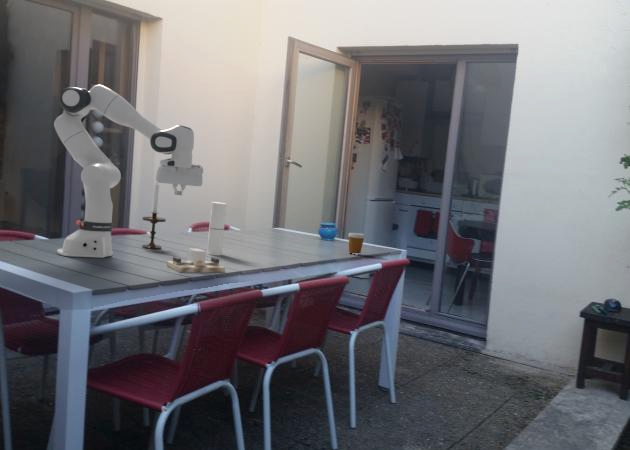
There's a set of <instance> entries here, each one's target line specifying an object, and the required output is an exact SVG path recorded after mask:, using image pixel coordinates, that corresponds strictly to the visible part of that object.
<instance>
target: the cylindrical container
mask: <svg viewBox="0 0 630 450" xmlns="http://www.w3.org/2000/svg"><path fill="white" fill-rule="evenodd" d="M226 213H227V203H226V202H221V201H220V202H219V201H211V204H210V215H209V227H208V236H207V237H208V238H207V246H206V247H207V249H206V254H207V255H209V254H210V256H222V254H223V243H224V233H225V222H226Z"/></svg>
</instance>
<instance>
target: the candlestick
mask: <svg viewBox="0 0 630 450" xmlns="http://www.w3.org/2000/svg"><path fill="white" fill-rule="evenodd" d="M159 189H160V185H159V183H158V182H157V181H156V183H155V185H154V195H153V205H152V211H151V212H150V213H151V214H152V215H151V216H142V220H143V221H146V222H150V223H151V231H149V233H150V237H149V239H150V242H149V243H148V244H142V245H141V248H142V249H147V250H162V246H161V245H157V244H155V241H154V240H155V238H156V237H155V235H156V233H157V232H156V230H155V229H156V224H158V223H165V222H166V221H167V219H166V218H164V217H158V216H157V215H158V202H159V201H158V200H159V191H160V190H159Z"/></svg>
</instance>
